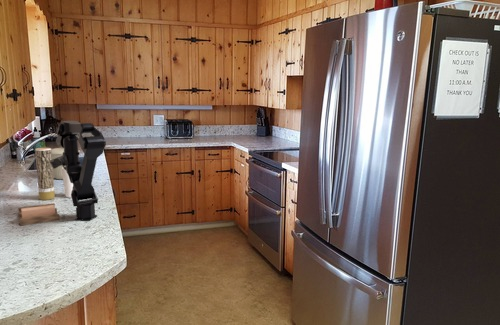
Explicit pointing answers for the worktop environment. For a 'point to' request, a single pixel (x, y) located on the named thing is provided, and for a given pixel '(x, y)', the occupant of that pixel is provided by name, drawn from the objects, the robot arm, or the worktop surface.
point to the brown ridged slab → (39, 218)
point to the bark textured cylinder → (44, 173)
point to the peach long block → (38, 211)
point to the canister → (58, 171)
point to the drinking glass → (67, 183)
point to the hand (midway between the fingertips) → (73, 184)
